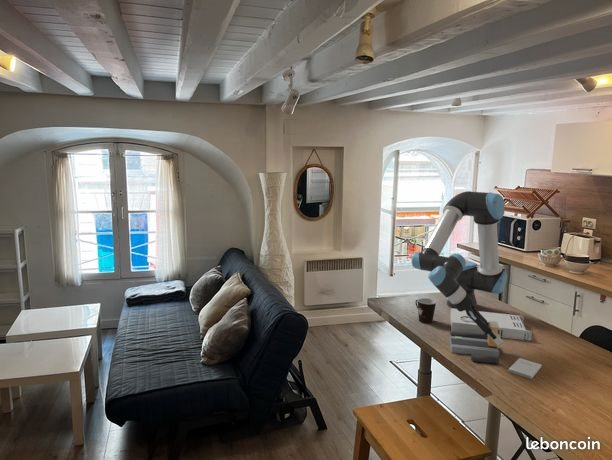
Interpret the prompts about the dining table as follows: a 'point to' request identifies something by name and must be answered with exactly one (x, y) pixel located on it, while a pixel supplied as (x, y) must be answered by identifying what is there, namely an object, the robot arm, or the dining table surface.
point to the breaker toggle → (494, 327)
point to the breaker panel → (472, 346)
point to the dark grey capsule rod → (484, 359)
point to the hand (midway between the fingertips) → (499, 341)
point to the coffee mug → (426, 309)
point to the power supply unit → (506, 322)
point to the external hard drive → (525, 368)
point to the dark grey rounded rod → (469, 335)
